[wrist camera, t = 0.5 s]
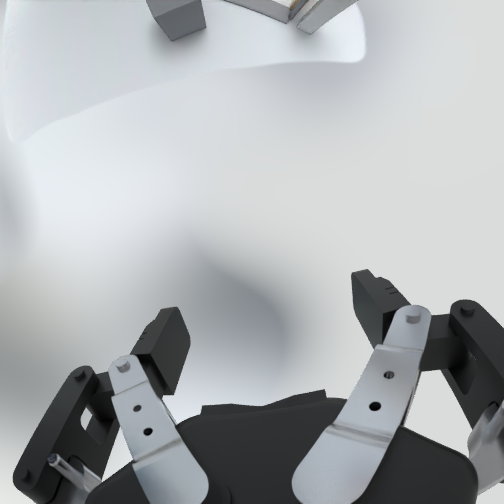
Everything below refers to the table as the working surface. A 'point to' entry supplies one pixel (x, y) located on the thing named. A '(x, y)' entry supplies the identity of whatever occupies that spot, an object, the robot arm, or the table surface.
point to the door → (294, 4)
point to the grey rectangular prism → (178, 16)
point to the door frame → (318, 15)
